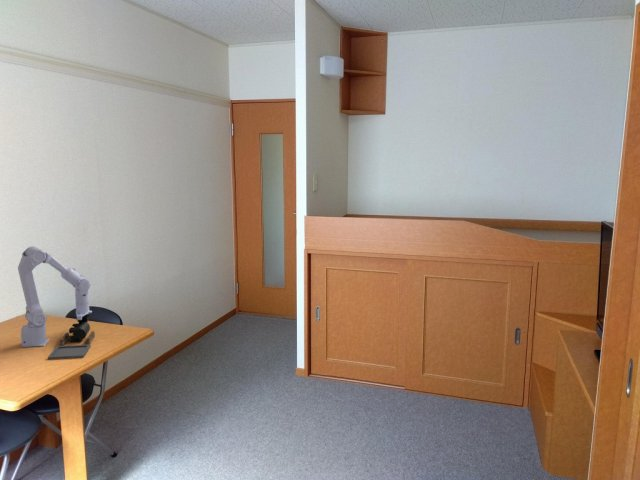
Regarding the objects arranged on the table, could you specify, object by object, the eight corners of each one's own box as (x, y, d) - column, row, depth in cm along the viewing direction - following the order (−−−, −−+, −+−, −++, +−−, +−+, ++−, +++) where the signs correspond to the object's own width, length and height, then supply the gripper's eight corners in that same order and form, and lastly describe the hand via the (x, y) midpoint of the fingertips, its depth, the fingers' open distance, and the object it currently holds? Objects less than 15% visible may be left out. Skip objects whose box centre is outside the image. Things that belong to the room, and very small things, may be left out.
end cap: (86, 341, 230) (85, 327, 229) (69, 342, 228) (68, 328, 227) (90, 334, 239) (89, 321, 238) (74, 335, 238) (73, 321, 237)
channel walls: (60, 346, 224) (59, 340, 223) (66, 338, 233) (66, 332, 233) (89, 345, 226) (89, 338, 226) (94, 337, 236) (94, 331, 235)
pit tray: (47, 359, 209) (47, 357, 209) (56, 348, 221) (56, 346, 221) (83, 357, 212) (83, 355, 212) (90, 346, 224) (90, 344, 224)
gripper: (87, 306, 232) (89, 334, 234) (94, 298, 246) (95, 324, 248) (71, 307, 230) (72, 335, 233) (79, 298, 244) (80, 325, 246)
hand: (83, 329), depth 240 cm, fingers closed
